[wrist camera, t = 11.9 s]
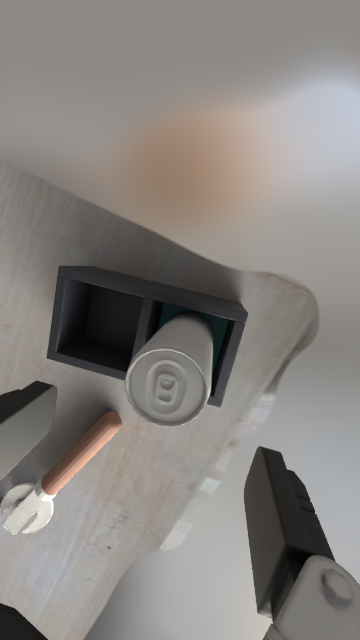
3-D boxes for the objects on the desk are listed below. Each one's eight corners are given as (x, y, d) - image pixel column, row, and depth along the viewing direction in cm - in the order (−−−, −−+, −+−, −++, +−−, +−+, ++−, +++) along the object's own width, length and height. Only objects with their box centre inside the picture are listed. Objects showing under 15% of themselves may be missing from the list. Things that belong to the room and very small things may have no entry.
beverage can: (218, 315, 25) (219, 355, 13) (208, 362, 26) (201, 439, 14) (168, 305, 26) (127, 336, 14) (160, 352, 27) (116, 418, 15)
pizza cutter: (101, 391, 30) (89, 404, 27) (140, 427, 30) (132, 443, 27) (3, 496, 34) (-17, 518, 31) (38, 527, 34) (22, 551, 31)
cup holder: (91, 266, 27) (58, 265, 21) (241, 303, 26) (248, 313, 20) (80, 340, 29) (46, 358, 23) (219, 379, 27) (220, 408, 22)
